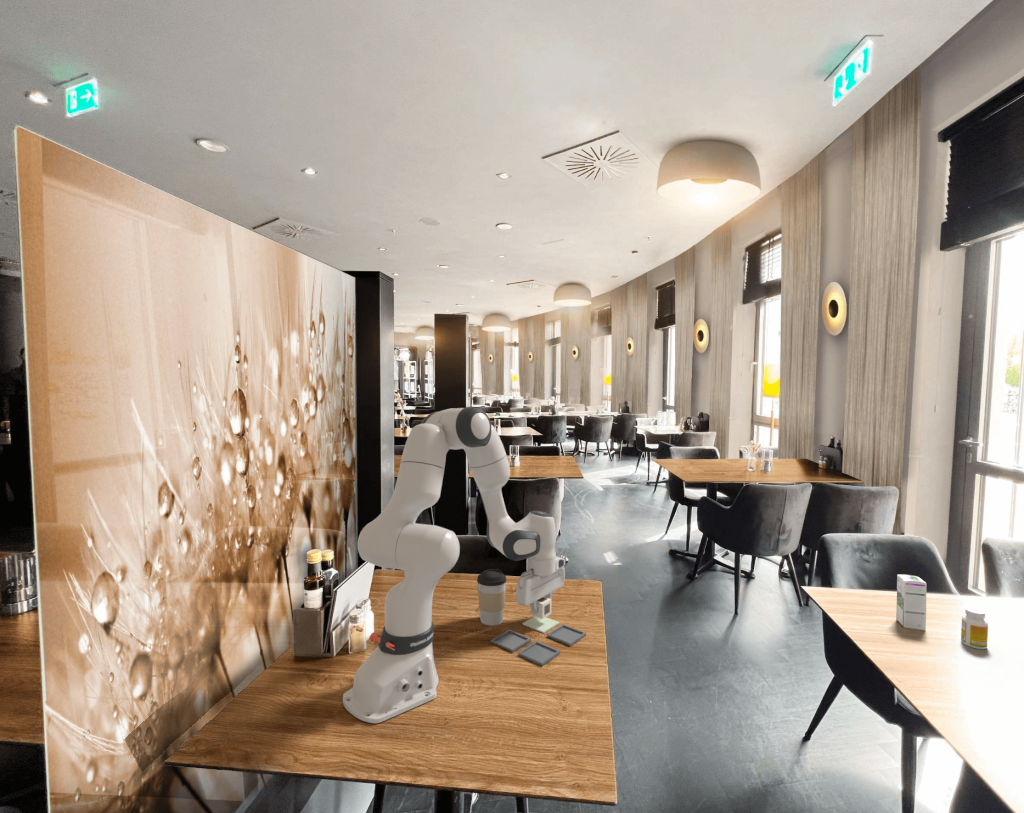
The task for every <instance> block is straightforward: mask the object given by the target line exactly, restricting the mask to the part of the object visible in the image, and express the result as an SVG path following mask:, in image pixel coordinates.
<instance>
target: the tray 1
mask: <svg viewBox="0 0 1024 813" xmlns="http://www.w3.org/2000/svg"><path fill="white" fill-rule="evenodd" d="M531 641H532V637H531V638H530V637H529V636H526V635H523V634H521V633H519V632H517V631H514V630H512V629H507V630H506V631H505V632H502V633H501V634H499V635H497V636H495V637H494V638H492V639H491V640H490V643H491V644H493V645H495V646H496V647H499V648H502V649H503V650H506V651H508V652H510V653H512V654H513V653H514V652H516V651H518V650H519V649H521V648H523V647H524V646H526V645H527V644H529V643H531Z"/></svg>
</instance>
